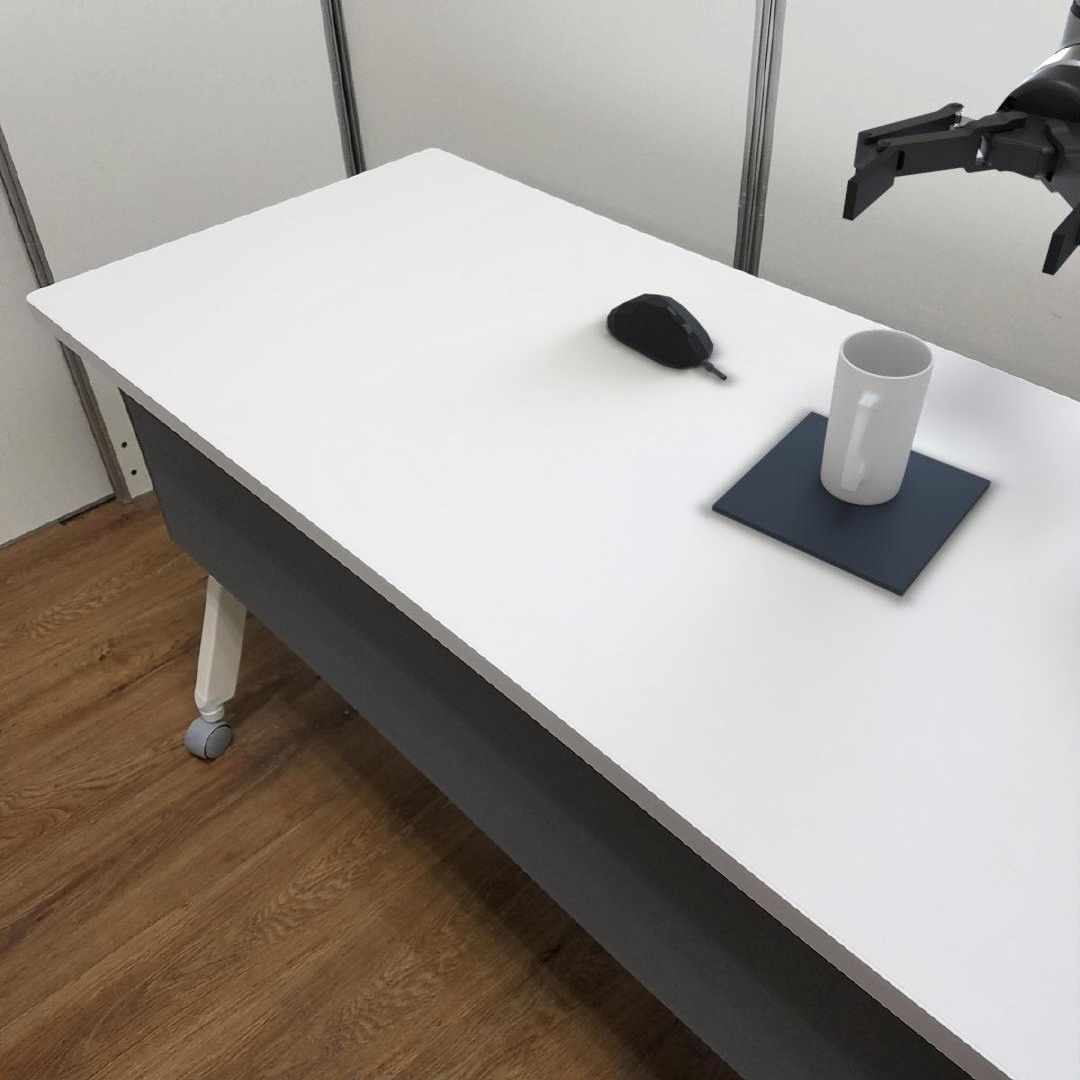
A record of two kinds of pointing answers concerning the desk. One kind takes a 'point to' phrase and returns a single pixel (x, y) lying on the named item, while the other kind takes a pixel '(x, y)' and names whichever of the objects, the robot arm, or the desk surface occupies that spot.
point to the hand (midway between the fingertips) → (946, 226)
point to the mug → (874, 414)
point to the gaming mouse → (662, 331)
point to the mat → (852, 509)
